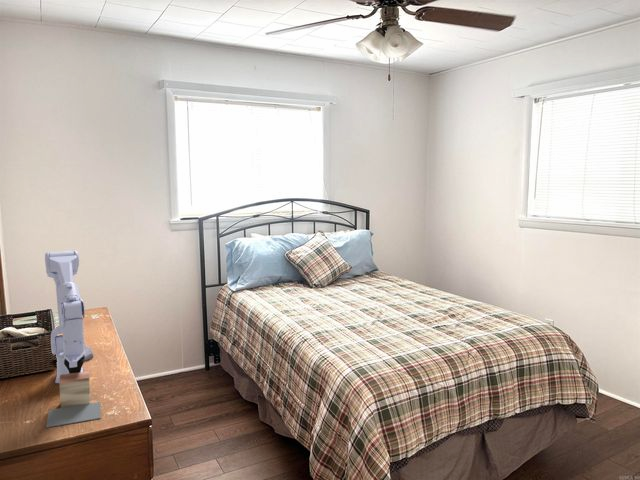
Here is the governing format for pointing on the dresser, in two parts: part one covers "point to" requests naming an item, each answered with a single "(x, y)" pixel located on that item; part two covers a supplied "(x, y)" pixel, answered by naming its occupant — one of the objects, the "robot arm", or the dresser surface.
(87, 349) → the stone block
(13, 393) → the dresser surface
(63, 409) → the mat
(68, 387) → the birch block
